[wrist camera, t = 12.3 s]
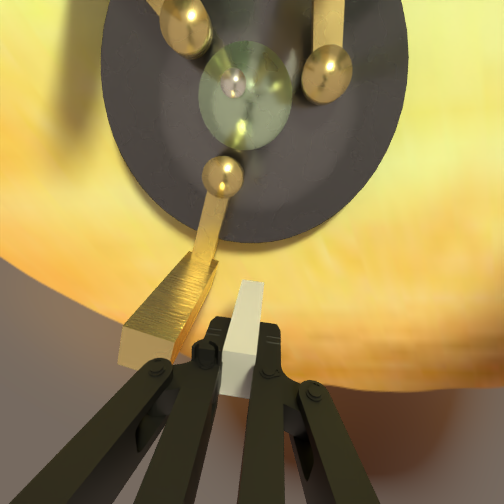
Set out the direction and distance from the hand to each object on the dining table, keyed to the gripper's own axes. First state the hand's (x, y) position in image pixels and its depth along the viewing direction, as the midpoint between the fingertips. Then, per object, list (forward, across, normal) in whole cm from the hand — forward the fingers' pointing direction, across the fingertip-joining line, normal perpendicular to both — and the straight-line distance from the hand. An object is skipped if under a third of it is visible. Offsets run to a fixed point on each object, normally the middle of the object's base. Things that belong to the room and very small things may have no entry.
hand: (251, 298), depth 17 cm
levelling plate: (+6, -2, +12) cm, 14 cm away
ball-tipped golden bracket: (+4, -4, +4) cm, 7 cm away
